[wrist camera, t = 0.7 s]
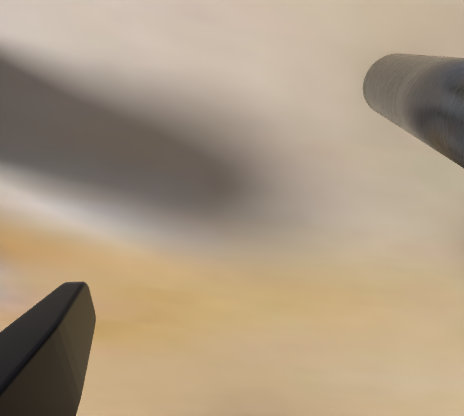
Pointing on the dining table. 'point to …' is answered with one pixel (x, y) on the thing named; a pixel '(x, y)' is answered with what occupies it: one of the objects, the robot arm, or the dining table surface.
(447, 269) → the dining table surface
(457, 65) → the hinge post
